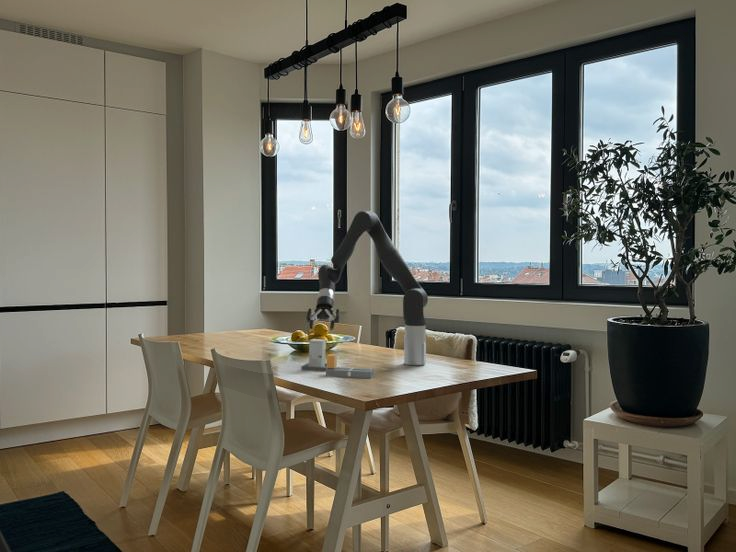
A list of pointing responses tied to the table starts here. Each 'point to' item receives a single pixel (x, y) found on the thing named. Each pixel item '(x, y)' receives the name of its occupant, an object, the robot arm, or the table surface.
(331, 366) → the block
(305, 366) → the frame
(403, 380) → the table surface
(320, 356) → the skincare box
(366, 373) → the switch panel
